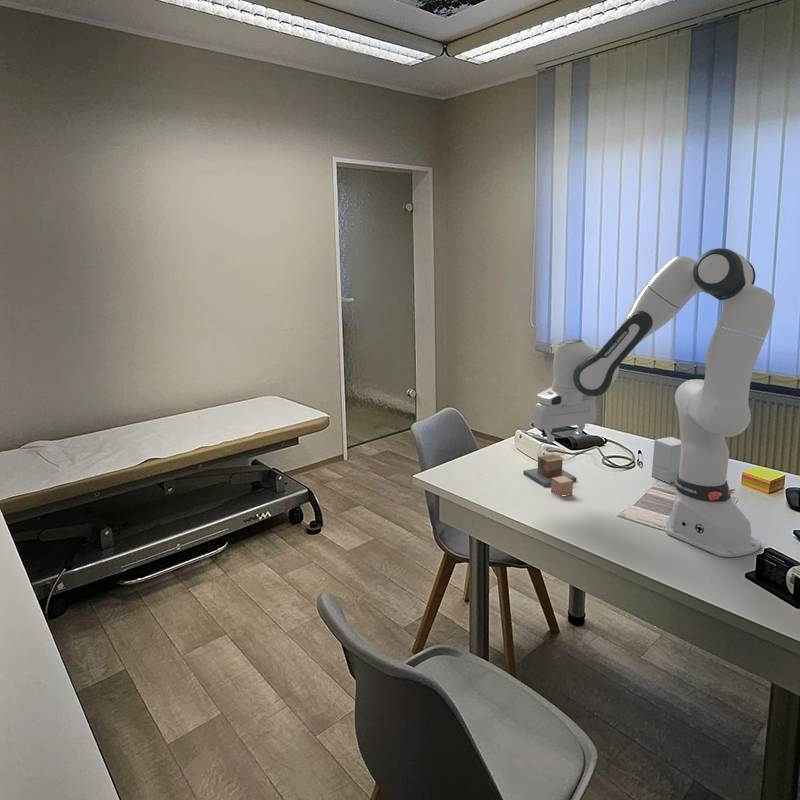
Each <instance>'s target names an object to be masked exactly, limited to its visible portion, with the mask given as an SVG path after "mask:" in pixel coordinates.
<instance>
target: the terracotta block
mask: <svg viewBox="0 0 800 800" xmlns="http://www.w3.org/2000/svg"><path fill="white" fill-rule="evenodd" d="M573 488H574V481H572V480H571V479H569V478H567V477H565V476H560V477H555V478H552V481H551V486H550V492H551V491H552V492H551V493H553V492H554V493H556V494H557V495H556V494H555V495H556V496H558V495H559V496H562V495H567V496H569V495H568V494H572V495H573V492H574V491H573V490H574V489H573ZM554 493H553V494H554ZM559 496H558V497H559ZM562 497H563V496H562Z"/></svg>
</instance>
